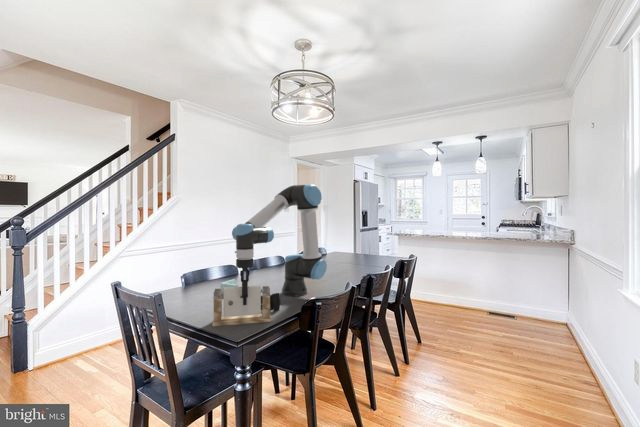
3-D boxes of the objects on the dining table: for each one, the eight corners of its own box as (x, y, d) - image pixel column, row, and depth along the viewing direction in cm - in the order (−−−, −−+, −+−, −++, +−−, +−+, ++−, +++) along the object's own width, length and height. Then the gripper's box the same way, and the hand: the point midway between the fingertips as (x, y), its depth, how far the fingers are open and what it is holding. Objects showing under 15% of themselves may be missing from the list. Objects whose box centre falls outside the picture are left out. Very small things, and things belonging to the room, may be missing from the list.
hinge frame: (270, 317, 144) (270, 285, 144) (271, 321, 138) (271, 289, 138) (213, 321, 138) (213, 288, 138) (212, 326, 132) (212, 292, 132)
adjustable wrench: (254, 308, 171) (281, 310, 153) (250, 310, 169) (276, 311, 151) (253, 293, 172) (279, 293, 154) (249, 294, 170) (274, 294, 152)
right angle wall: (236, 298, 176) (236, 285, 176) (220, 295, 181) (220, 283, 181) (249, 293, 187) (249, 280, 187) (234, 291, 192) (234, 279, 192)
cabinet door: (266, 311, 142) (267, 285, 142) (267, 314, 138) (267, 287, 138) (217, 314, 137) (217, 287, 137) (216, 318, 133) (216, 290, 133)
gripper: (236, 255, 145) (236, 305, 146) (235, 261, 129) (235, 317, 129) (253, 255, 147) (252, 304, 147) (253, 261, 131) (253, 315, 131)
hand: (244, 310), depth 138 cm, fingers closed on cabinet door, 3 cm apart
